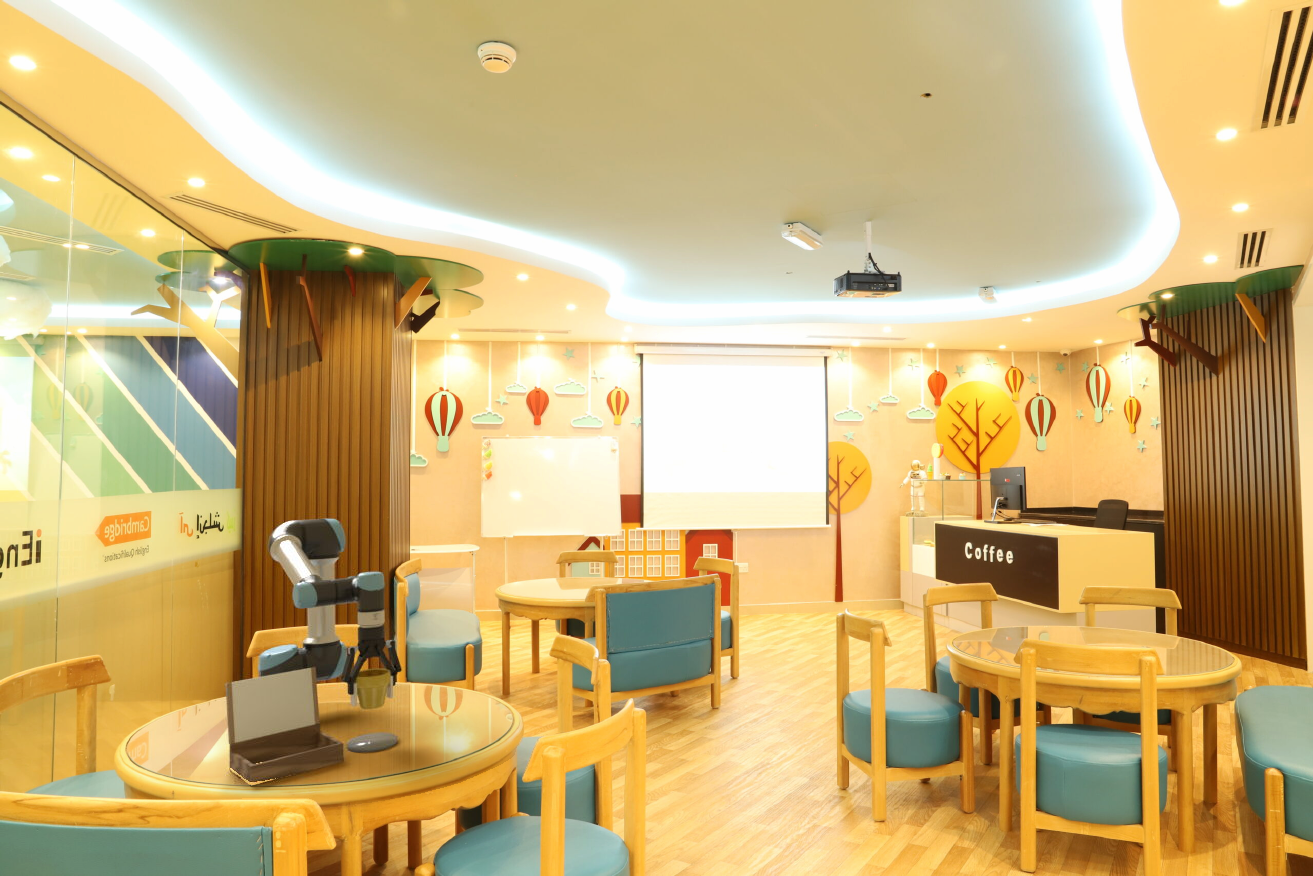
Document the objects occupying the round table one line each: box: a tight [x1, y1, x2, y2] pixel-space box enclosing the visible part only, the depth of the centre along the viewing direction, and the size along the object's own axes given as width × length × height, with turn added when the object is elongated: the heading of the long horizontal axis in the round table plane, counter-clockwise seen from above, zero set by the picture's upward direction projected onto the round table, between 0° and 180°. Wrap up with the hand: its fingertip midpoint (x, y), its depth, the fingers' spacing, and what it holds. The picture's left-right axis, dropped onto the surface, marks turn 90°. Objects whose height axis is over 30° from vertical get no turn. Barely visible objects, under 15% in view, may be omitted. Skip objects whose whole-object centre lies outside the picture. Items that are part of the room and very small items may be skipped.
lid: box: [225, 667, 321, 745], centre depth 229 cm, size 4×24×16 cm, turn 134°
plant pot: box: [355, 668, 390, 710], centre depth 238 cm, size 10×10×10 cm
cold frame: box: [229, 723, 344, 782], centre depth 222 cm, size 17×24×7 cm
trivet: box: [346, 732, 398, 753], centre depth 238 cm, size 14×14×1 cm
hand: (372, 701), depth 238 cm, fingers closed on plant pot, 10 cm apart
